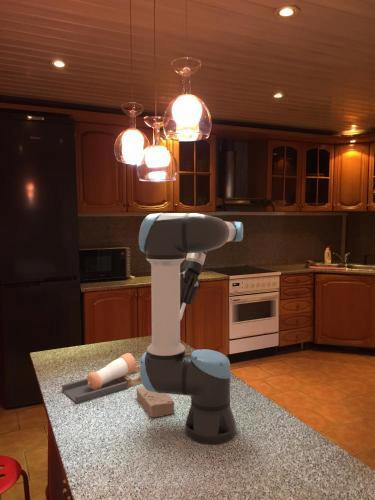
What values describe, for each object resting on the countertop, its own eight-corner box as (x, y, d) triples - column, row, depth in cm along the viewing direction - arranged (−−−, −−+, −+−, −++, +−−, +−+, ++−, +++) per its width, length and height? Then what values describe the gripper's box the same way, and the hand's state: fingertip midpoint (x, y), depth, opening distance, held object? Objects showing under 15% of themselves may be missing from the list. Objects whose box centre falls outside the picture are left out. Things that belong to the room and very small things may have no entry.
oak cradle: (138, 371, 165) (137, 364, 165) (153, 379, 157) (153, 372, 156) (113, 378, 158) (112, 370, 158) (127, 387, 149) (127, 379, 149)
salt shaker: (138, 371, 154) (96, 395, 141) (128, 369, 159) (86, 392, 147) (133, 353, 153) (90, 376, 141) (123, 351, 159) (80, 373, 146)
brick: (135, 398, 141) (135, 385, 140) (158, 394, 144) (157, 381, 144) (150, 420, 126) (150, 406, 125) (175, 415, 129) (175, 401, 129)
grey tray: (111, 377, 158) (111, 372, 158) (127, 388, 148) (127, 382, 148) (62, 391, 146) (62, 385, 146) (76, 404, 136) (76, 397, 136)
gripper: (196, 269, 168) (180, 323, 160) (177, 256, 160) (159, 312, 152) (210, 269, 163) (195, 325, 155) (191, 256, 155) (173, 314, 147)
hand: (177, 318), depth 154 cm, fingers closed
